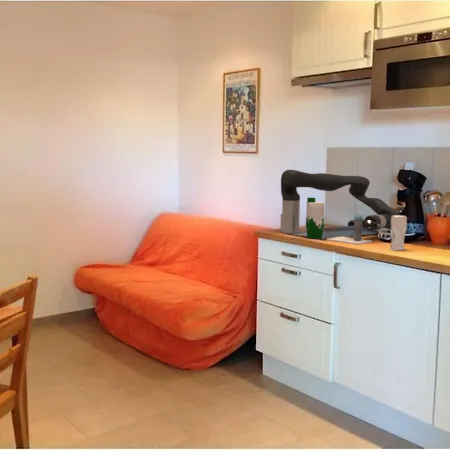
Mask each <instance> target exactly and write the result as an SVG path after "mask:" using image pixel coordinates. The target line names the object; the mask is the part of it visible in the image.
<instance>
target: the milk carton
mask: <svg viewBox="0 0 450 450" xmlns="http://www.w3.org/2000/svg"><path fill="white" fill-rule="evenodd" d="M305 211H306V212H305V216H306V217H305V230H306V237H307V239H318V238H322V239H323V236H324V229H325V202H324V201H317V200H316V197H307V199H306V209H305Z"/></svg>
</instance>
